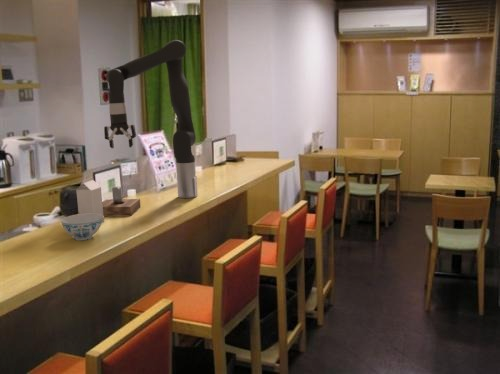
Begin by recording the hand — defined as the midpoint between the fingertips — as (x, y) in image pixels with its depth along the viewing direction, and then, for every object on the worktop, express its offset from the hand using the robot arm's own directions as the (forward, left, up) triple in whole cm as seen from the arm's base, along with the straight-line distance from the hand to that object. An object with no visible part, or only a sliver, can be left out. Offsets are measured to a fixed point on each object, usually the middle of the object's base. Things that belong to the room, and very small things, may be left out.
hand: (121, 147), depth 273 cm
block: (-1, +17, -27) cm, 32 cm away
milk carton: (+4, +38, -27) cm, 47 cm away
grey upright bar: (-1, +17, -26) cm, 31 cm away
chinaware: (0, +59, -27) cm, 65 cm away
